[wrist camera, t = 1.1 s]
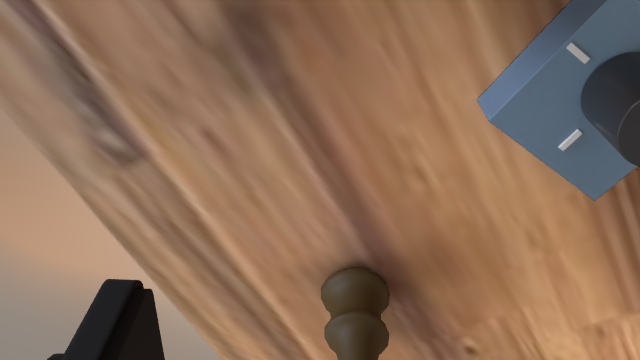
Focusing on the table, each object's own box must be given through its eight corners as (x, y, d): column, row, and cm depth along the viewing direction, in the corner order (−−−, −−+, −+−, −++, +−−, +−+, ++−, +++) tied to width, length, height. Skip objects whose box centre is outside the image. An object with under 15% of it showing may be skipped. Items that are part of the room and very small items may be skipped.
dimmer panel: (627, -60, 28) (659, -51, 25) (730, 42, 30) (769, 60, 28) (476, 100, 32) (489, 122, 30) (576, 176, 35) (596, 203, 32)
